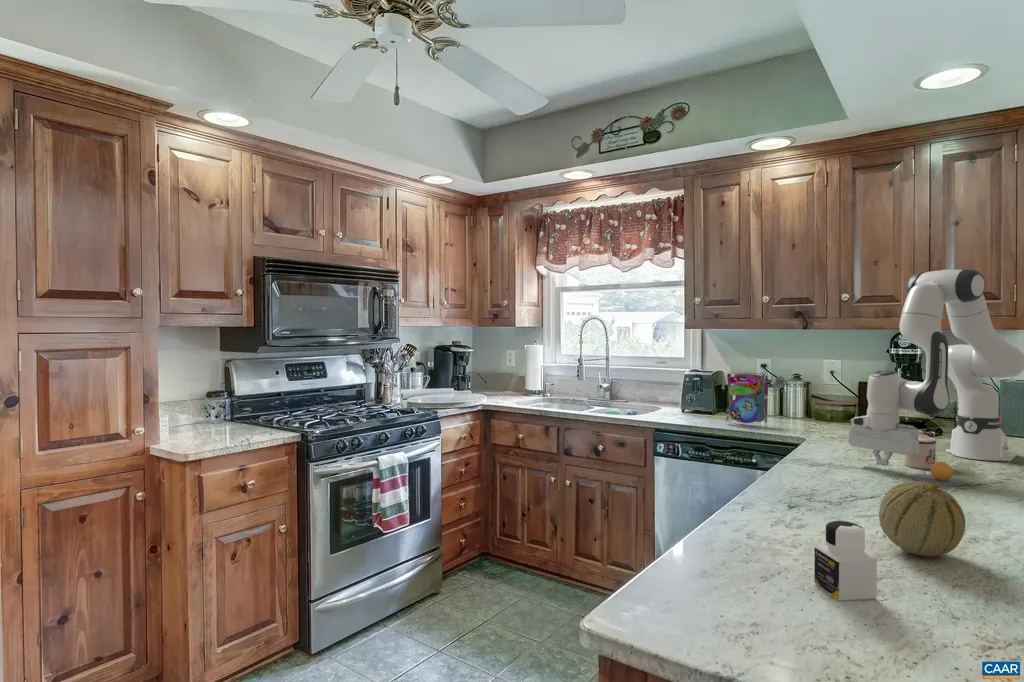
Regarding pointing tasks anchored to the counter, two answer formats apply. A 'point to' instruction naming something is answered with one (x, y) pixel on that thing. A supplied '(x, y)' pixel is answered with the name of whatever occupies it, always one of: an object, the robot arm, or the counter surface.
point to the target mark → (931, 480)
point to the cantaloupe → (922, 518)
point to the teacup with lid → (922, 453)
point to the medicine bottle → (845, 563)
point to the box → (749, 397)
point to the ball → (941, 471)
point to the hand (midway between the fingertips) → (882, 464)
